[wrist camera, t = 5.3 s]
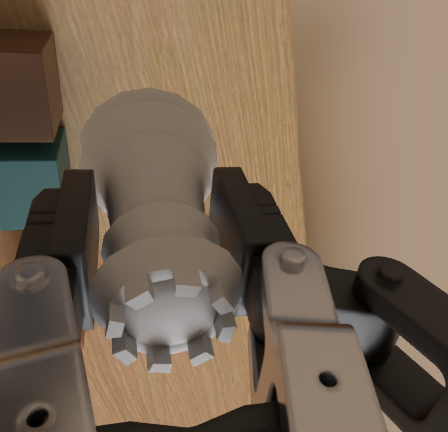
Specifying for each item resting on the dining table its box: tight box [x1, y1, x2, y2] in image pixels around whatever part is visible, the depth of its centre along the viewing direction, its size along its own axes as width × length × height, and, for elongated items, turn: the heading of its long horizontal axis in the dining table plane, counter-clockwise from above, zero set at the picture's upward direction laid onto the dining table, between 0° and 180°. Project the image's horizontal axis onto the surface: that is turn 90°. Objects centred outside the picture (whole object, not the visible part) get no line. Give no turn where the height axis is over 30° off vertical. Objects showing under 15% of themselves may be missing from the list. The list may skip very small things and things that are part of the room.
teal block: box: [0, 127, 70, 231], centre depth 25 cm, size 4×4×4 cm
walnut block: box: [0, 29, 63, 142], centre depth 22 cm, size 4×4×4 cm
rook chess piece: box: [79, 88, 244, 373], centre depth 11 cm, size 4×4×8 cm
